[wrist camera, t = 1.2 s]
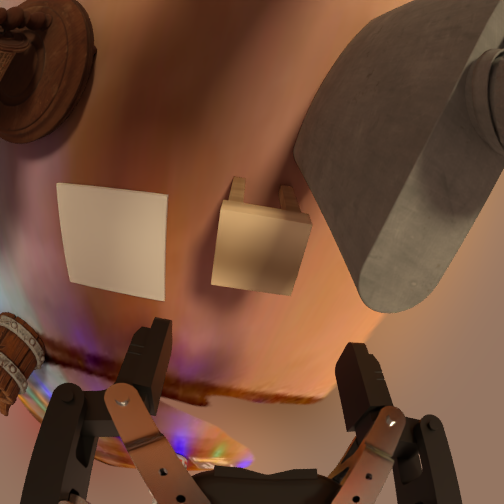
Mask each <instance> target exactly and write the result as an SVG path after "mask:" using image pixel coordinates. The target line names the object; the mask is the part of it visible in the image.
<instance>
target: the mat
mask: <svg viewBox="0 0 504 504" xmlns="http://www.w3.org/2000/svg"><path fill="white" fill-rule="evenodd" d="M56 186H57V198H58V209H59V218H60V226H61V233H62V240H63V246H64V253H65V258H66V264H67V269H68V274H69V279H70V282H73V283H77V284H82V285H86V286H91V287H95V288H100V289H104V290H109V291H113V292H118V293H123V294H128V295H133V296H138V297H143V298H148V299H154V300H159V301H165V259H166V228H167V208H168V195H166V194H159V193H151V192H143V191H135V190H126V189H118V188H109V187H99V186H90V185H79V184H69V183H57V184H56Z"/></svg>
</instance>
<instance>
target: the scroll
mask: <svg viewBox="0 0 504 504" xmlns="http://www.w3.org/2000/svg"><path fill="white" fill-rule="evenodd" d="M96 52H97V48H96V47H95V46H94V35H93V28H92V24H91V21H90V18H89V16H88V14H87V12H86V10H85V9H84V8H83V6H82V5H81V4H80V3H79V2H78V1H76V0H26V1H25V2H23V3H22V4H20V5H19V6H18V7H12V8H10V9H8V10H7V11H6V9H5V8H0V137H1V138H2V139H4V140H6V141H8V142H11V143H17V144H22V143H28V142H32V141H34V140H37V139H40V138H42V137H44V136H46V135H48V134H50V133H51V132H53V131H54V130H55V129H56V128H58V127H59V126H60V125H61V124H62V123H63V122H64V121H65V119H66V118H67V117H68V116H69V115H70V113H71V112H72V110H73V109H74V107H75V106H76V104H77V102H78V101H79V99H80V97H81V95H82V93H83V90H84V88H85V85H86V83H87V80H88V77H89V74H90V70H91V65H92V60H93V54H95V53H96Z"/></svg>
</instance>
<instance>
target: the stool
mask: <svg viewBox="0 0 504 504" xmlns="http://www.w3.org/2000/svg"><path fill="white" fill-rule="evenodd" d="M245 181H246V178H240V177H234V178H233V183H232V187H231V191H230V195H229V200H223V203H222V207H221V211H220V218H219V225H218V233H217V240H216V248H215V256H214V263H213V271H212V280H211V285H217V286H224V287H230V288H237V289H244V290H251V291H258V292H265V293H272V294H279V295H287V296H291V294H292V290H293V287H294V284H295V281H296V278H297V275H298V271H299V268H300V265H301V262H302V258H303V255H304V252H305V248H306V245H307V242H308V238H309V235H310V232H311V228H312V222H311V220H310V217H309V214H305V213H301V210H300V207H299V205H298V202H297V199H296V196H295V193H294V190H293V187H291V186H286V185H281V186H280V190H279V195H278V196H279V201H280V206H281V209H277V208H271V207H265V206H260V205H254V204H247V203H243V200H244V190H245Z"/></svg>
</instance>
